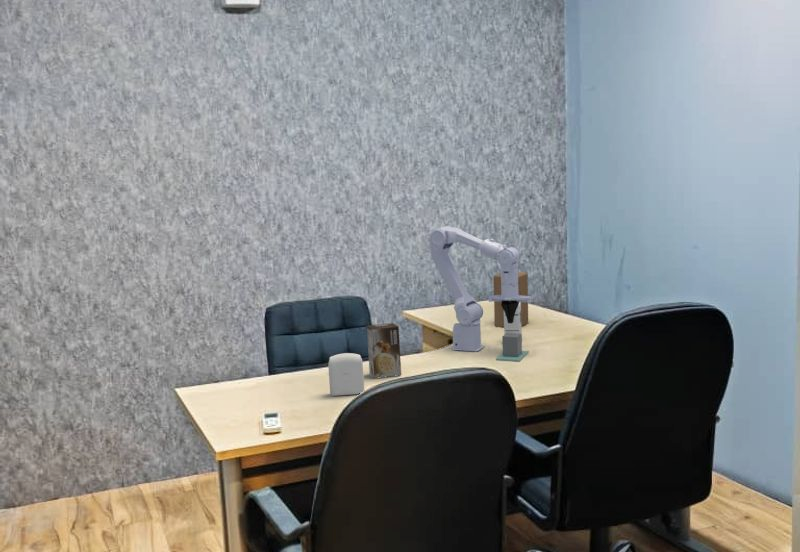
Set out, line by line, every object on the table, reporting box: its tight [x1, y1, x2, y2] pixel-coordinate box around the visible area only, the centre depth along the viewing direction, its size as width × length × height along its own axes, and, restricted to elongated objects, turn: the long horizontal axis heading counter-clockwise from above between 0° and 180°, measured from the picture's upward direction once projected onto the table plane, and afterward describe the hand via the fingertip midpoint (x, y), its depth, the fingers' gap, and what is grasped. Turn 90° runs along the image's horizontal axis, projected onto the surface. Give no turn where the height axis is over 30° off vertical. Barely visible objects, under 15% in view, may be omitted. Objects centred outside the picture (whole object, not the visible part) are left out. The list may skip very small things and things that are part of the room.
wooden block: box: [493, 271, 529, 328], centre depth 362 cm, size 10×10×20 cm
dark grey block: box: [501, 333, 523, 357], centre depth 316 cm, size 5×5×7 cm
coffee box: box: [366, 322, 402, 379], centre depth 298 cm, size 9×6×16 cm
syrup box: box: [503, 302, 523, 336], centre depth 335 cm, size 6×6×14 cm
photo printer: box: [327, 352, 365, 397], centre depth 280 cm, size 10×4×12 cm, turn 96°
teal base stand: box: [495, 350, 530, 363], centre depth 316 cm, size 8×12×6 cm, turn 158°
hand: (510, 322), depth 320 cm, fingers closed
